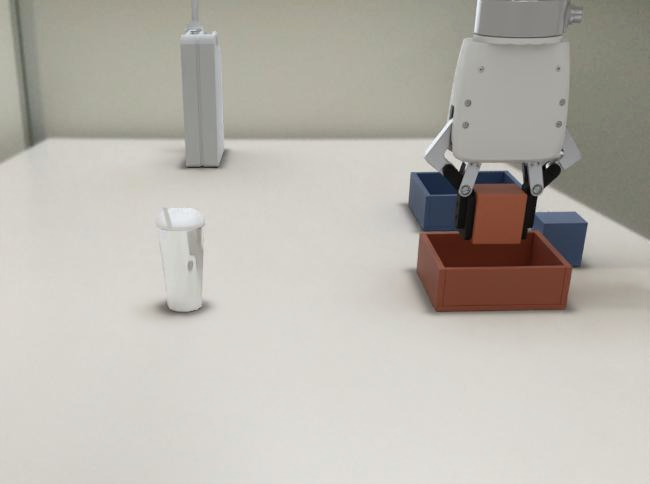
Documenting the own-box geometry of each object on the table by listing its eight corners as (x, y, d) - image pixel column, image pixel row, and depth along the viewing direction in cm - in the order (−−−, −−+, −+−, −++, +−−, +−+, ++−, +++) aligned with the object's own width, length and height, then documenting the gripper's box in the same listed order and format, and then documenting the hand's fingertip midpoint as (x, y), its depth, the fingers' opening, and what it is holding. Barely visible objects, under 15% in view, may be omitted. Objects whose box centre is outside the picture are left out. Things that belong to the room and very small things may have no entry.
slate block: (568, 253, 105) (575, 211, 103) (580, 266, 102) (588, 222, 99) (527, 254, 105) (533, 212, 103) (537, 267, 102) (544, 223, 99)
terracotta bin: (533, 268, 101) (538, 230, 99) (565, 309, 91) (572, 267, 89) (416, 270, 101) (419, 232, 99) (435, 311, 91) (439, 269, 89)
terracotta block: (509, 230, 95) (516, 183, 93) (520, 244, 91) (527, 194, 89) (463, 231, 95) (469, 183, 93) (472, 244, 91) (478, 195, 89)
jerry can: (194, 146, 156) (186, -33, 143) (225, 146, 156) (220, -34, 142) (184, 167, 144) (174, -27, 130) (218, 167, 143) (211, -28, 130)
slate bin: (503, 203, 124) (507, 170, 121) (527, 229, 113) (532, 194, 111) (408, 204, 124) (410, 172, 122) (423, 231, 113) (425, 196, 111)
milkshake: (149, 314, 91) (141, 205, 86) (173, 296, 96) (167, 191, 90) (192, 319, 90) (187, 209, 85) (215, 301, 94) (212, 195, 89)
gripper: (604, 16, 86) (568, 224, 96) (414, 18, 86) (398, 226, 96) (632, 25, 80) (591, 246, 90) (428, 27, 80) (409, 248, 90)
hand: (492, 233), depth 93 cm, fingers closed on terracotta block, 4 cm apart
